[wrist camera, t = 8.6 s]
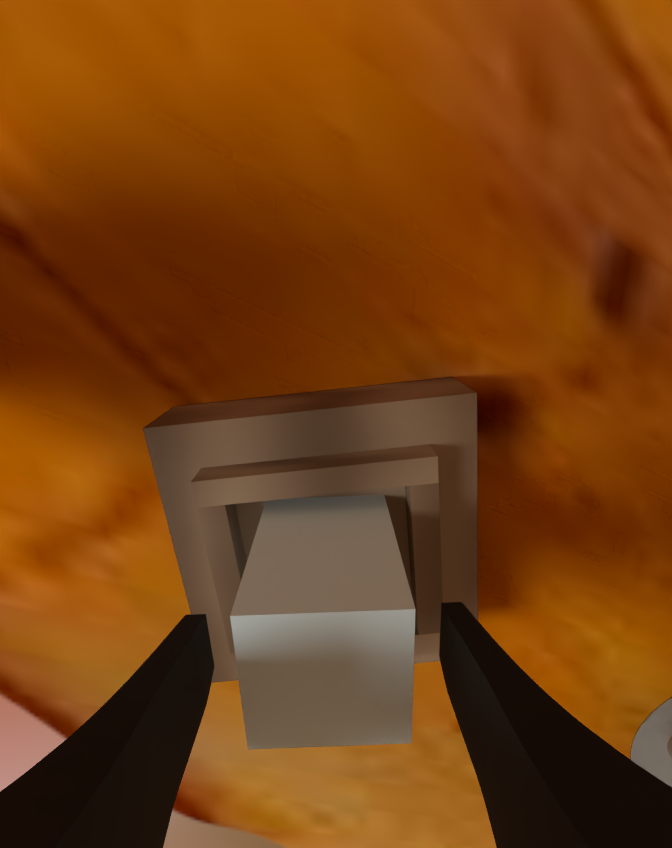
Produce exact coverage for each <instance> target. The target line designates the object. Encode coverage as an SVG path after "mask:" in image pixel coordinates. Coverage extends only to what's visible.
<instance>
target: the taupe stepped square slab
mask: <svg viewBox="0 0 672 848" xmlns="http://www.w3.org/2000/svg"><path fill="white" fill-rule="evenodd" d="M143 431H144V434H145V438H146V442H147V446H148V450H149V454H150V458H151V461H152V465H153V469H154V473H155V477H156V481H157V484H158V488H159V492H160V496H161V500H162V504H163V508H164V511H165V515H166V519H167V523H168V527H169V531H170V535H171V538H172V542H173V546H174V550H175V554H176V558H177V562H178V565H179V569H180V573H181V577H182V581H183V585H184V588H185V592H186V596H187V600H188V604H189V608H190V612H191V615H194V614H206V618H207V624H208V630H209V636H210V642H211V648H212V654H213V660H214V666H215V667H214V671H213V676H212V681H211V683H212V682H223V681H233V680H239V679H238V672H237V664H236V657H235V649H234V642H233V634H232V627H231V619H230V615H231V611H232V608H233V605H234V602H235V599H236V595H237V592H238V589H239V586H240V582H241V579H242V576H243V573H244V570H245V566H246V563H247V560H248V557H249V554H250V550H251V547H252V544H253V541H254V538H255V534H256V531H257V528H258V525H259V521H260V518H261V515H262V512H263V509H264V505H265V502H266V501H268V500H278V499H288V498H313V497H341V496H368V495H384V496H385V499H386V503H387V507H388V510H389V514H390V518H391V521H392V525H393V529H394V532H395V536H396V540H397V543H398V547H399V551H400V554H401V558H402V562H403V565H404V569H405V573H406V576H407V580H408V584H409V587H410V591H411V595H412V598H413V602H414V606H415V641H414V663H422V662H433V661H440V657H439V646H440V622H441V603H449V602H462V603H463V604H464V605H465V606H466V607H467V609H468V610H469V611H470V612H471V613H472V615H473V616H474V617H475V618H476V619H477V621H478V504H477V392H475V391H474V390H472V389H471V388H469V387H468V386H466V385H465V384H463V383H461V382H460V381H458V380H457V379H455V378H454V377H446V378H437V379H428V380H419V381H409V382H400V383H391V384H381V385H372V386H363V387H354V388H344V389H335V390H326V391H316V392H307V393H298V394H288V395H279V396H270V397H261V398H251V399H242V400H233V401H223V402H214V403H205V404H195V405H186V406H177V407H172V408H171V409H170V410H168V411H167V412H165V413H164V414H163V415H161V416H160V417H158V418H157V419H156V420H154V421H153V422H151V423H150V424H148V425H147V426H146V427H144V428H143Z"/></svg>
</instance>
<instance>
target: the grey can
mask: <svg viewBox="0 0 672 848" xmlns="http://www.w3.org/2000/svg"><path fill="white" fill-rule="evenodd" d="M631 760H632V761H633V762H634V763H636V764H637V765H639V766H640V767H642V768H643V769H645V770H646V771H648V772H649V773H651V774H652V775H654V776H655V777H657V778H658V779H660V780H661V781H663V782H664V783H666V784H667V785H669V786H671V787H672V698H670V699H669V700H667V701H666V702H664V703H663V704H662V705H660V706H659V707H658V708H657V709H656V710H655V711H653V712H652V713H651V715H650V716H649V717H648V718H647V719H646V720H645V721H644V722H643V724H642V725H641V727H640V728H639V730H638V732H637V733H636V735H635V738H634V741H633V744H632V749H631Z"/></svg>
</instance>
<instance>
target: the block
mask: <svg viewBox="0 0 672 848" xmlns="http://www.w3.org/2000/svg"><path fill="white" fill-rule="evenodd" d="M230 619H231V627H232V634H233V642H234V649H235V657H236V664H237V672H238V679H239V686H240V694H241V701H242V709H243V716H244V724H245V731H246V739H247V746H248V749H272V748H298V747H324V746H350V745H376V744H402V743H411V740H412V707H413V674H414V641H415V606H414V602H413V598H412V595H411V591H410V587H409V584H408V580H407V576H406V573H405V569H404V565H403V562H402V558H401V554H400V551H399V547H398V543H397V540H396V536H395V532H394V529H393V525H392V521H391V518H390V514H389V510H388V507H387V503H386V499H385V496H384V495H368V496H341V497H313V498H288V499H278V500H268V501H266V502H265V505H264V509H263V512H262V515H261V518H260V521H259V525H258V528H257V531H256V534H255V538H254V541H253V544H252V547H251V550H250V554H249V557H248V560H247V563H246V566H245V570H244V573H243V576H242V579H241V582H240V586H239V589H238V592H237V595H236V599H235V602H234V605H233V608H232V611H231V615H230Z"/></svg>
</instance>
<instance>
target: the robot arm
mask: <svg viewBox="0 0 672 848" xmlns="http://www.w3.org/2000/svg"><path fill="white" fill-rule="evenodd" d="M439 657H440V662H441V666H442V671H443V675H444V679H445V683H446V687H447V691H448V694H449V697H450V700H451V703H452V706H453V709H454V712H455V715H456V718H457V721H458V723H459V726H460V729H461V732H462V735H463V738H464V741H465V743H466V746H467V749H468V752H469V755H470V758H471V761H472V763H473V766H474V769H475V772H476V775H477V778H478V781H479V784H480V787H481V791H482V794H483V797H484V801H485V804H486V808H487V812H488V816H489V820H490V823H491V827H492V831H493V835H494V838H495V842H496V846H497V848H672V787H671V786H669V785H667V784H666V783H664V782H663V781H661V780H660V779H658V778H657V777H655V776H654V775H652V774H651V773H649V772H648V771H646V770H645V769H643V768H642V767H640V766H639V765H637V764H636V763H634V762H633V761H632V760H630V759H629V758H627V757H626V756H624V755H623V754H622V753H620V752H619V751H617V750H616V749H615V748H613V747H612V746H611V745H609V744H608V743H607V742H605V741H604V740H603V739H601V738H600V737H599V736H597V735H596V734H595V733H594V732H592V731H591V730H590V729H588V728H587V727H586V726H584V725H583V724H582V723H581V722H579V721H578V720H577V719H576V718H574V717H573V716H572V715H571V714H570V713H568V712H567V711H566V710H565V709H564V708H563V707H562V706H560V705H559V704H558V703H557V702H556V701H555V700H554V699H552V698H551V697H550V696H549V695H548V694H547V693H546V692H545V691H544V690H543V689H542V688H540V687H539V686H538V685H537V684H536V683H535V682H534V681H533V680H532V679H531V678H530V677H529V676H528V675H527V674H526V673H525V672H524V671H523V670H522V669H521V668H520V667H519V666H518V665H517V664H516V663H515V662H514V661H513V660H512V659H511V658H510V656H509V655H508V654H507V653H506V652H505V651H504V650H503V649H502V648H501V647H500V646H499V645H498V644H497V642H496V641H495V640H494V639H493V638H492V637H491V636H490V635H489V633H488V632H487V631H486V630H485V629H484V628H483V626H482V625H481V624H480V623H479V622H478V621H477V619H476V618H475V617H474V616H473V615H472V613H471V612H470V611H469V610H468V609H467V607H466V606H465V605H464V604H463V603H462V602H449V603H441V622H440V646H439ZM214 667H215V666H214V660H213V654H212V648H211V642H210V636H209V630H208V624H207V618H206V614H194V615H185V616H184V617H183V618H182V620H181V621H180V622H179V623H178V624H177V625H176V626H175V628H174V629H173V630H172V631H171V632H170V633H169V635H168V636H167V637H166V638H165V639H164V640H163V642H162V643H161V644H160V645H159V646H158V647H157V649H156V650H155V651H154V652H153V653H152V654H151V655H150V656H149V658H148V659H147V660H146V661H145V662H144V663H143V664H142V665H141V666H140V668H139V669H138V670H137V671H136V672H135V673H134V674H133V675H132V676H131V677H130V679H129V680H128V681H127V682H126V683H125V684H124V685H123V686H122V687H121V688H120V689H119V690H118V691H117V692H116V693H115V694H114V695H113V696H112V697H111V698H110V699H109V700H108V701H107V702H106V703H105V704H104V705H103V706H102V707H101V708H100V709H99V710H98V711H97V712H96V713H95V714H94V715H93V716H92V717H91V718H90V719H89V720H88V721H86V722H85V723H84V724H83V725H82V726H81V727H80V728H79V729H78V730H76V731H75V732H74V733H73V734H72V735H71V736H70V737H69V738H67V739H66V740H65V741H64V742H63V743H62V744H60V745H59V746H58V747H57V748H56V749H54V750H53V751H52V752H51V753H49V754H48V755H47V756H46V757H44V758H43V759H42V760H41V761H40V762H38V763H37V764H36V765H35V766H33V767H32V768H31V769H30V770H28V771H27V772H26V773H25V774H24V775H22V776H21V777H19V778H18V779H17V780H16V781H14V782H13V783H12V784H10V785H9V786H7V787H6V788H5V789H3V790H2V791H1V792H0V848H163V845H164V841H165V836H166V833H167V829H168V825H169V821H170V816H171V812H172V809H173V806H174V802H175V799H176V796H177V792H178V789H179V786H180V783H181V780H182V777H183V774H184V771H185V768H186V765H187V762H188V759H189V756H190V753H191V750H192V747H193V744H194V741H195V738H196V735H197V732H198V729H199V726H200V723H201V719H202V716H203V713H204V710H205V707H206V704H207V700H208V695H209V691H210V686H211V681H212V676H213V671H214Z"/></svg>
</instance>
